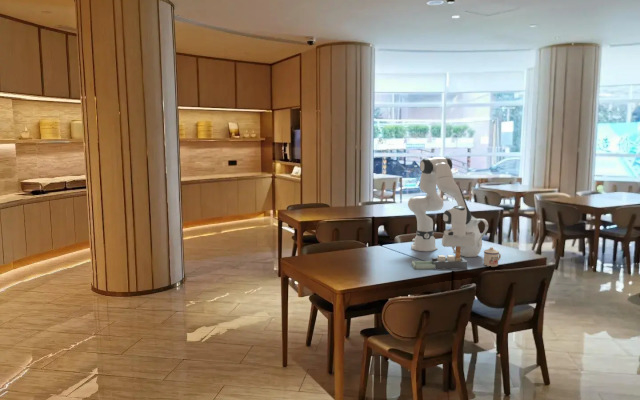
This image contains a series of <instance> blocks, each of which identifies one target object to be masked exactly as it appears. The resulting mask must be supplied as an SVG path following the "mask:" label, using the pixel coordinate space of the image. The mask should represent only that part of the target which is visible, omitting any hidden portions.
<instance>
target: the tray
mask: <svg viewBox="0 0 640 400" xmlns="http://www.w3.org/2000/svg"><path fill="white" fill-rule="evenodd" d="M411 266H412V268H413V269H414V270H431V269H432V270H435V269H434V268H436V265H432V260H411Z"/></svg>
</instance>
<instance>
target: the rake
mask: <svg viewBox="0 0 640 400" xmlns="http://www.w3.org/2000/svg"><path fill="white" fill-rule="evenodd" d="M455 250H456V254H455V255H454V256H455V261H461V258H460V257H461V255H460V251H461V247H455Z"/></svg>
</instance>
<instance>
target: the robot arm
mask: <svg viewBox="0 0 640 400" xmlns="http://www.w3.org/2000/svg"><path fill="white" fill-rule="evenodd" d="M419 169H420V171H421V175H420V183H419V189H420V191H422V192H423V193H425V194H426V195H424V196H423V195H422V196H421V195H420V196H419V195H418V196H413V197H410V198H409V199H408V201H407V206H408V209H409V211H411V212H412V213H413V214H414V215H415V218H416V222H417V223H416V227H417V228H416V229H417V230H416V234H415V235H416V236H415V237H414V238H413V239H411V240H412V243H411V250H414V251H420V252H433V251H436V250H438V247H437V246H436V237H434V229H433V228H434V221H433V218H432V217H430V216H429V215H427V214H426V213H427V212H436V211H440V210H442V209H443V207H444V200H443V198H442V197H441V196H439V194H438V192H437V188H438V190H439V191H441V192H443V193H445V194H448V195H450V196H452V197H453V198H454V199H455V201H456V204H457V205H455V206H453V207H452V208H451V209H450V208H449V209H446V210H445V211H444V212H443V214H442V220H443V222H444V223H445V224H446V225H451V228H449V229H445V230H444V231H443V236H442V239H441V245H442V247H444V248H445V247H446V248H452V251H453V252H452V253H453V255H454V254H456V247H461V248H462V249H461V251H460V253H462V252H463V250H464V247H473V246H474V245H475V241H474V238H475V234H472V233H473V232H466V224H468V223H469V222H470V220H471V218H472V216H473V215H472V213H471V211H470V208H469V207H468V204H467V202H466V199H465V196H464V194H463V192H462V189H461V187H460V186H459V185H457V183H456V181H455V180H454V179H455V178H454V175H453V172H452V169H453V161H452V160H451V158H450V157H445V156H444V157H436V156H435V157H431V158H428V157H427V158H423V159H421V161H420V163H419Z"/></svg>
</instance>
